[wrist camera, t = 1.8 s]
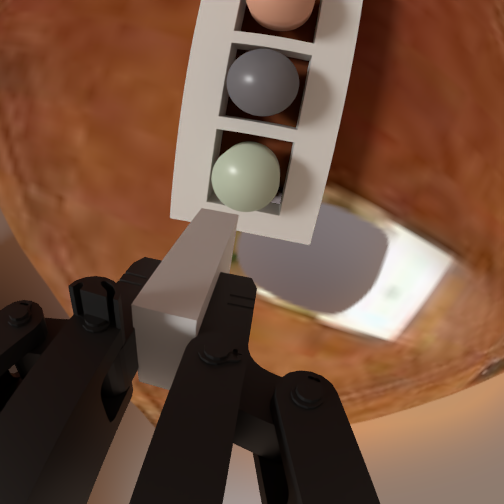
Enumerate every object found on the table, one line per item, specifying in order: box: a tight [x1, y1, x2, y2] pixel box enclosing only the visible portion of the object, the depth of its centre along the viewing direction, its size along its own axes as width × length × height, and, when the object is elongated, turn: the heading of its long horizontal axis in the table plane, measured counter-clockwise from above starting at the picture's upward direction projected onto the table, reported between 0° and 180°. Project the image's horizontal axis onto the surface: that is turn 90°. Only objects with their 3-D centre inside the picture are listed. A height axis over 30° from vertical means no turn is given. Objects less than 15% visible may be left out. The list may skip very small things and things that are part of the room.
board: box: [170, 0, 363, 245], centre depth 22 cm, size 24×12×3 cm, turn 170°
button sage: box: [211, 141, 280, 212], centre depth 23 cm, size 5×5×3 cm
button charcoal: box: [227, 49, 299, 116], centre depth 20 cm, size 5×5×3 cm
